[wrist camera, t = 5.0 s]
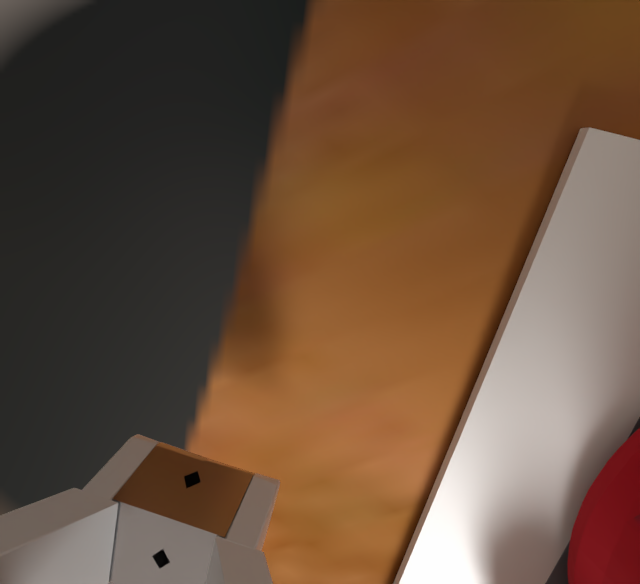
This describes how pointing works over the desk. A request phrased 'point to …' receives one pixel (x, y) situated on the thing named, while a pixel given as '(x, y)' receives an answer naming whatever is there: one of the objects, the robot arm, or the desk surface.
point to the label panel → (546, 387)
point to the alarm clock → (609, 523)
